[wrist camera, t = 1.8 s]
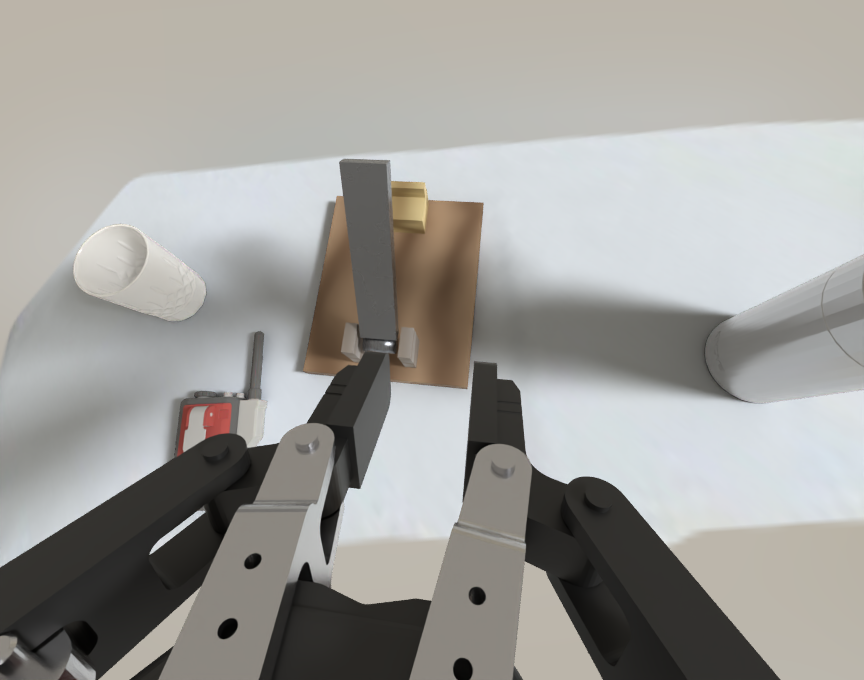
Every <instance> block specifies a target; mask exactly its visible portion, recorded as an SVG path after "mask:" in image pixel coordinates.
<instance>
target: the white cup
mask: <svg viewBox="0 0 864 680" xmlns="http://www.w3.org/2000/svg"><path fill="white" fill-rule="evenodd" d="M73 275H74V279H75V281H76V283H77V285H78V287H79V288H80V289H81V290H82V291H84V292H85V293H87V294H89V295H92V296H94V297H97V298H100V299H103V300H106V301H109V302H112V303H115V304H118V305H120V306H123V307H126V308H129V309H132V310H135V311H138V312H141V313H144V314H147V315H153V316H156V317H159V318H162V319H165V320H168V321H183V320H185V319H187V318H189V317H191V316H193V315H194V314H195V313H196V312H197V311H198V310H199V309H200V308H201V306H202V305H203V302H204V299H205V296H206V286H205V282H204V281H203V279H202V278H201V277H200V275H199V274H198V273H196V272H195V271H193V270H192V269H191V268H189V267H188V266H187V265H186V264H185V263H183V262H182V261H181V260H180V259H178V258H177V257H176V256H174V255H173V254H172V253H171V252H169V251H168V250H166V249H165V248H164V247H162V246H161V245H160V244H158V243H157V242H155V241H154V240H153V239H151V238H150V237H148V236H147V235H146V234H144V233H143V232H142V231H140V230H139V229H137V228H136V227H134V226H131V225H127V224H115V225H110V226H107V227H104V228H102V229H100V230H98V231H97V232H95V233H94V234H92V235H91V236H90V237H89V238H88V239H87V240H86V241H85V242H84V243H83V244H82V246H81V247H80V249H79V250H78V252H77V254H76V257H75V260H74V265H73Z"/></svg>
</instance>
